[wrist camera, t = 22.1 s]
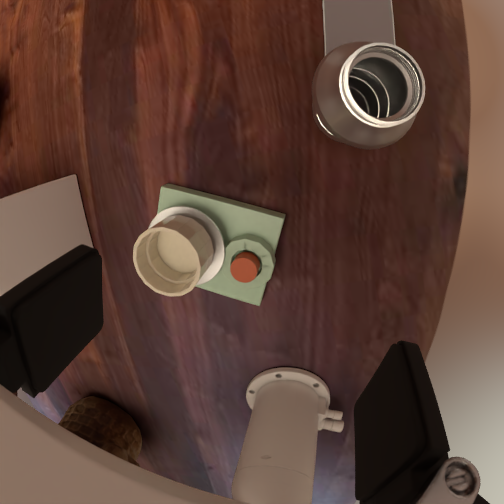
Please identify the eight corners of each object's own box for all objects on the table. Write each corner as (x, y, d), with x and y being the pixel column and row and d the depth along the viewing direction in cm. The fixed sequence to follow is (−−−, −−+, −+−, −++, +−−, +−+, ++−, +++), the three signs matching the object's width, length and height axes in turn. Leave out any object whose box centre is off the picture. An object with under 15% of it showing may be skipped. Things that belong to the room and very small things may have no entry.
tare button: (262, 255, 33) (259, 262, 32) (256, 278, 35) (253, 286, 33) (236, 248, 34) (232, 254, 32) (231, 271, 35) (227, 278, 33)
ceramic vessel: (36, 363, 43) (51, 503, 27) (152, 379, 59) (186, 495, 43) (27, 406, 52) (41, 508, 36) (118, 416, 68) (141, 506, 52)
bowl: (220, 224, 32) (205, 239, 28) (208, 284, 35) (194, 305, 31) (157, 206, 33) (135, 218, 29) (151, 265, 36) (131, 283, 32)
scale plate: (233, 218, 32) (232, 219, 32) (217, 294, 36) (216, 295, 36) (152, 196, 33) (151, 197, 33) (144, 270, 37) (143, 271, 36)
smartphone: (324, 115, 29) (321, -15, 23) (324, 115, 30) (321, -12, 24) (396, 122, 28) (391, -8, 22) (394, 122, 28) (389, -5, 23)
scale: (289, 214, 35) (286, 224, 31) (264, 299, 39) (260, 314, 36) (167, 183, 36) (154, 189, 33) (157, 265, 40) (145, 277, 37)
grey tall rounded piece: (306, 134, 31) (295, 142, 12) (318, 72, 28) (320, -4, 10) (368, 148, 30) (439, 180, 12) (379, 87, 27) (461, 40, 9)
